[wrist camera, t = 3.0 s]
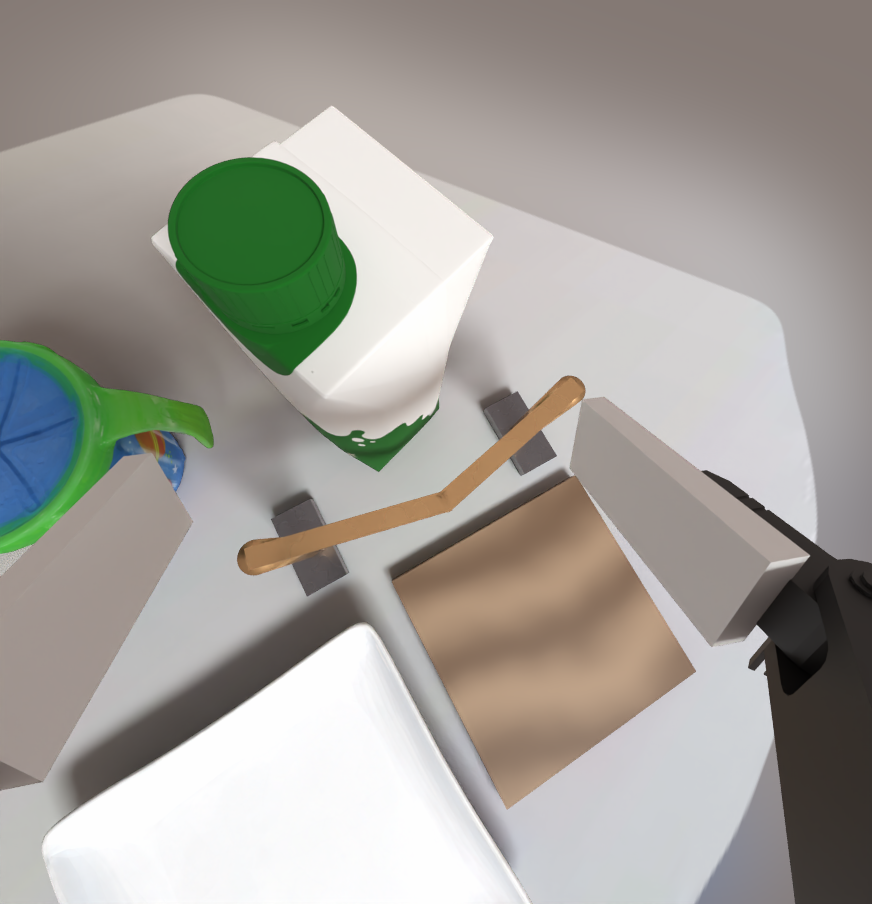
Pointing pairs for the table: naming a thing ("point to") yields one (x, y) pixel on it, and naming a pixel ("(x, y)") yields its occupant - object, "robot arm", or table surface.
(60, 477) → the snack cup
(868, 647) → the robot arm
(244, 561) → the copper wire
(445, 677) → the walnut board
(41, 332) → the table surface
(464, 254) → the soya milk
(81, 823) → the salad plate
